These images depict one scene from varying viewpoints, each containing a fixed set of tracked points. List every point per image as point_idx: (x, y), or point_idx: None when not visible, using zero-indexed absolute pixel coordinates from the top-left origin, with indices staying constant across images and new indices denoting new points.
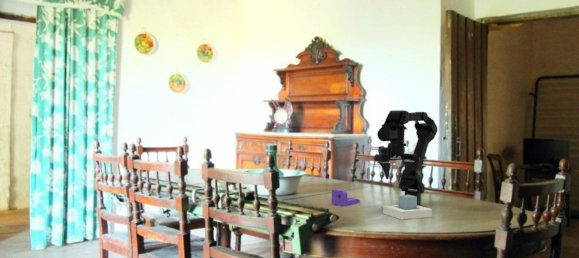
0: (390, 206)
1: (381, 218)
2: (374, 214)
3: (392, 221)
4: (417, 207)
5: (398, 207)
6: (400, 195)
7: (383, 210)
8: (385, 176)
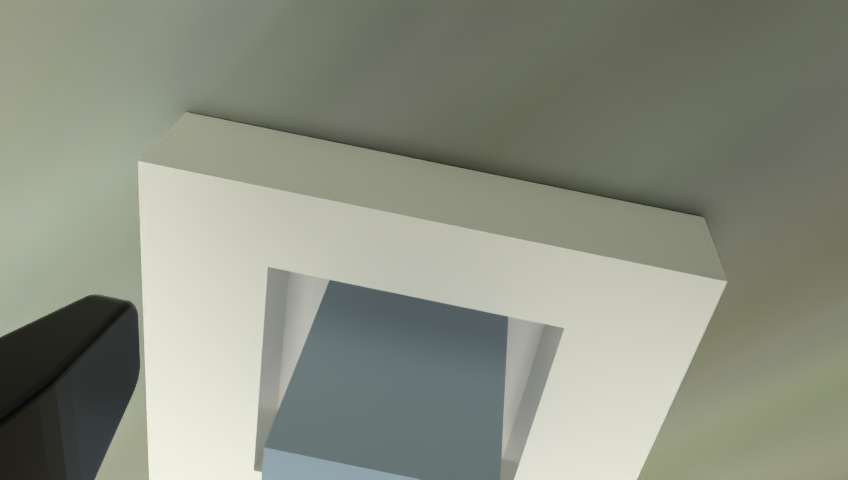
0: (223, 242)
1: (9, 288)
2: (34, 84)
3: None
4: (528, 463)
5: (316, 316)
6: (298, 463)
7: (168, 133)
8: (5, 348)
